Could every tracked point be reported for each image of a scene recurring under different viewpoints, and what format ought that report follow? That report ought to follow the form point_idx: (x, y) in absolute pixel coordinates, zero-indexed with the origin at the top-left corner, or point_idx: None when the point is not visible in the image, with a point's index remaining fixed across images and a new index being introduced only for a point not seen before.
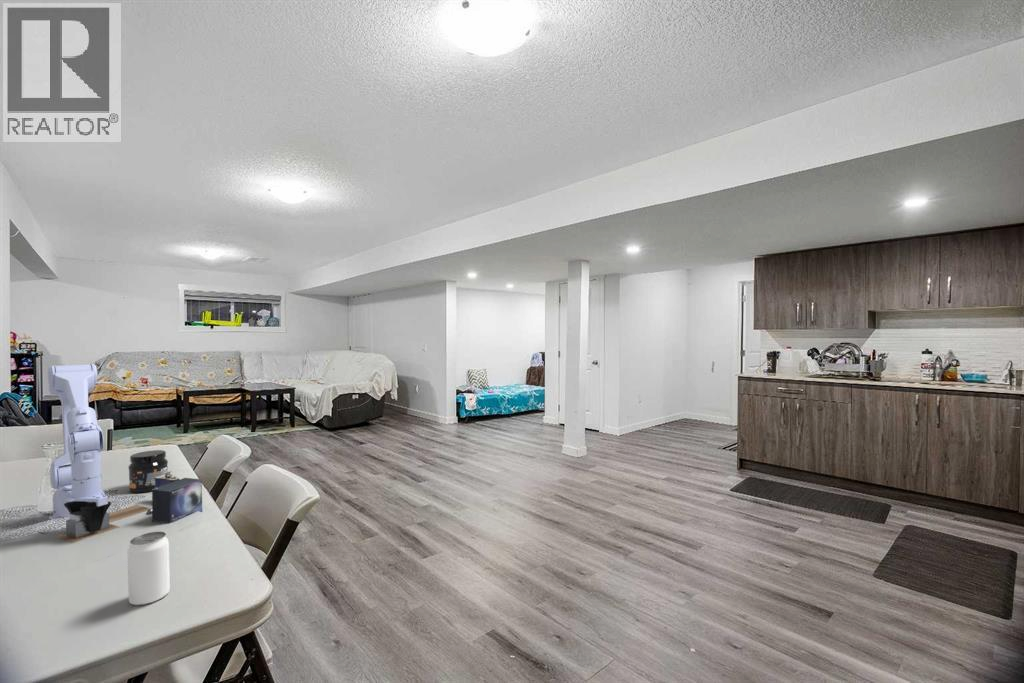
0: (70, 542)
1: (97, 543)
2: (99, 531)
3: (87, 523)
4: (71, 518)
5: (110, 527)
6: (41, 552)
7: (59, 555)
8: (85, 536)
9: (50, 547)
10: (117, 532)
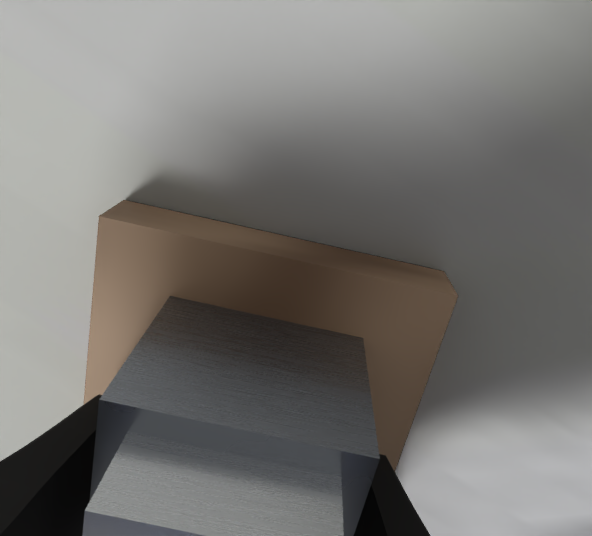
0: (128, 221)
1: (32, 327)
2: None
3: (53, 455)
4: (278, 488)
5: None
6: (351, 77)
7: (76, 58)
8: None
9: (387, 189)
10: None
